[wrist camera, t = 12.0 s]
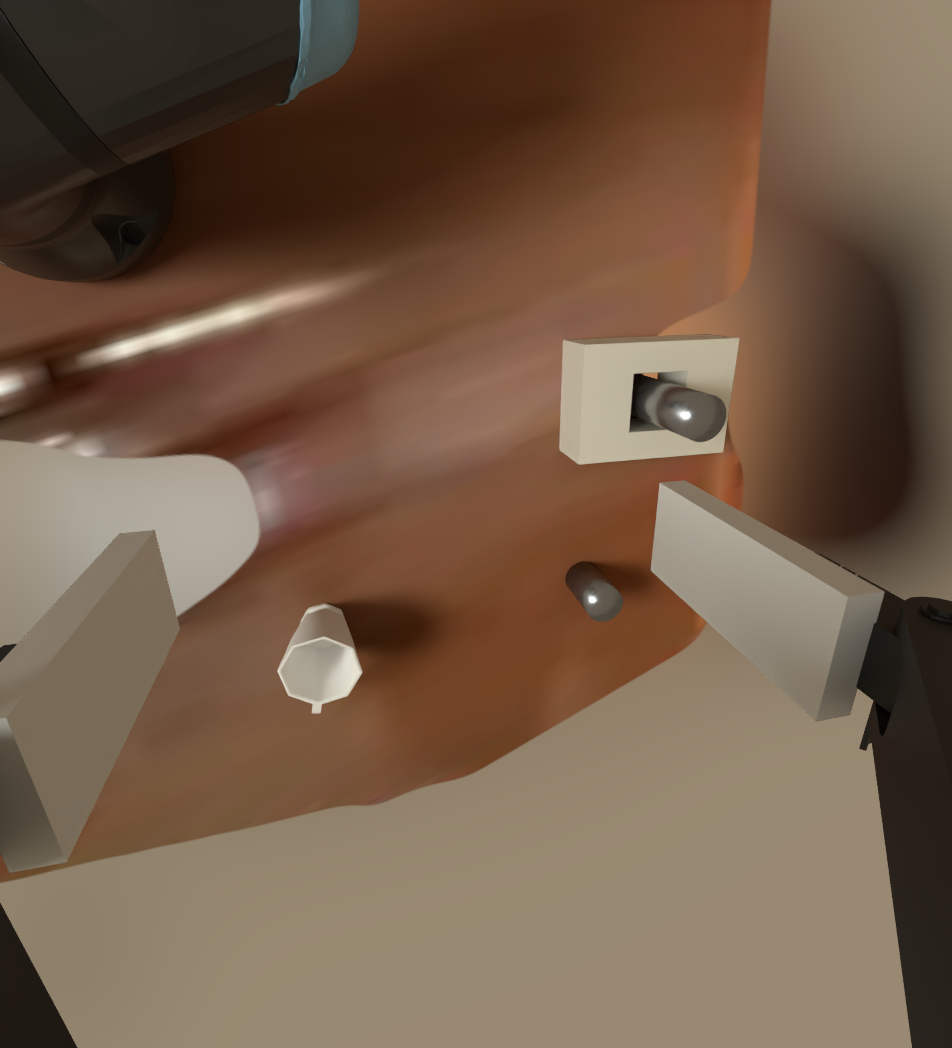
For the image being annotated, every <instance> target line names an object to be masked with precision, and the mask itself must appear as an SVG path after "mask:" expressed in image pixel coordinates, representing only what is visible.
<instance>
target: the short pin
mask: <svg viewBox="0 0 952 1048" xmlns="http://www.w3.org/2000/svg"><path fill="white" fill-rule="evenodd" d="M566 584H567V586H568V588H569V589H570V590H571V592H572V593H573V594H574V596H575V597H576V598H577V600H578V601H579V602H580V603H581V605H582V606H583V607H584V609H585V610H586V611H587V613H588V614H589V615H590V617H591V618H592V619H594V620H596V621H608V620H610V619H612V618H614V617H615V616H616V615H617V614H618V613H619V612H620V610H621V608H622V605H623V599H622V596H621V594H620V593H619V592H618V591H617V590H616V588H615V587H614V586H613V585H612V584H611V583H610V582H609V581H608V580H607V579H606V577H605V576H604V575H603V574H602V573H601V572H600V571H599V570H598V569H597V568H596V567H595V565H593V564H592V563H590V562H579V563H576V564H575V565H573V566H572V567H571V568H570V569H569V571H568V572H567V575H566Z"/></svg>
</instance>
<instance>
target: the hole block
mask: <svg viewBox="0 0 952 1048" xmlns="http://www.w3.org/2000/svg"><path fill="white" fill-rule="evenodd" d="M738 346H739V338H735V337H726V336H718V335H710V334H697V335H672V336H647V337H623V338H599V339H575V340H563V359H562V388H561V417H560V446H559V450H560V451H561V452H563V453H564V454H565V455H567V456H568V457H570V458H571V459H572V460H574V461H575V462H576V463H578V464H589V463H601V462H613V461H625V460H636V459H648V458H660V457H672V456H684V455H696V454H708V453H719V452H723V448H724V442H725V435H726V428H727V421H728V414H729V406H730V400H731V394H732V387H733V380H734V373H735V366H736V359H737V352H738ZM656 372H658V380H662V381H665V382H669V383H672V384H676V385H680V386H683V387H687V388H690V389H694V390H697V391H701V392H704V393H708V394H711V395H715V396H717V397H719V398H720V399H721V400H722V401H723V402H724V404H725V407H726V421H725V424H724V426H723V428H722V429H721V431H720V432H719V433H718V434H717V435H716V436H715V437H714V438H712V439H711V440H708V441H705V442H695V441H692V440H690V439H688V438H685V437H683V436H681V435H678V434H676V433H674V432H671V431H669V430H667V429H664V428H662V427H660V426H657V425H655V424H653V423H650V422H648V421H646V420H643V419H641V418H638V419H630V414H631V402H632V389H633V377H634V374H638V373H656Z"/></svg>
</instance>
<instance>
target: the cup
mask: <svg viewBox="0 0 952 1048" xmlns="http://www.w3.org/2000/svg"><path fill="white" fill-rule="evenodd" d="M278 673H279V675H280V678H281V680H282V682H283V684H284V687H285V689H286V691H287V693H288V696H291V697H294V698H297V699H300V700H303V701H306V702H309V703H312V713H321V705H322V704H324V703H327V702H330V701H334V700H337V699H340V698H343V697H346V696H348V695H349V693H350V692H351V690H352V688H353V687H354V685H355V684H356V682H357V681H358V679H359V677H360V676H361V674H362V669H361V666H360V662H359V659H358V656H357V653H356V649H355V646H354V642H353V639H352V637H351V634H350V631H349V628H348V626H347V623H346V621H345V618H344V615H343V612H342V610H341V609H339V608H337V607H334V606H332V605H329V604H327V603H324V604H320V605H317V606H313V607H310V608H308V609H307V611H306V613H305V615H304V616H303V618H302V620H301V621H300V625H299V627H298V629H297V630H296V632H295V634H294V635H293V637H292V639H291V641H290V643H289V645H288V648H287V650H286V653H285V655H284V657H283V659H282V662H281V664H280V666H279V669H278Z"/></svg>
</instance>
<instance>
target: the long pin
mask: <svg viewBox="0 0 952 1048" xmlns="http://www.w3.org/2000/svg"><path fill="white" fill-rule="evenodd" d="M631 414H632V415H634V416H636V417H639V418H641V419H643V420H646V421H648V422H650V423H653V424H655V425H657V426H660V427H662V428H664V429H667V430H669V431H671V432H674V433H676V434H678V435H681V436H683V437H685V438H688V439H690V440H692V441H695V442H705V441H708V440H711V439H712V438H714V437H715V436H716V435H717V434H718V433H719V432H720V431H721V429H722V428H723V426H724V424H725V421H726V407H725V404H724V402H723V401H722V400H721V399H720V398H719V397H717V396H715V395H711V394H708V393H704V392H701V391H697V390H694V389H690V388H687V387H683V386H680V385H676V384H672V383H669V382H665V381H662V380H658V379H655V378H651V377H647V376H644V375H640V374H634V377H633V389H632V402H631Z"/></svg>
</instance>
